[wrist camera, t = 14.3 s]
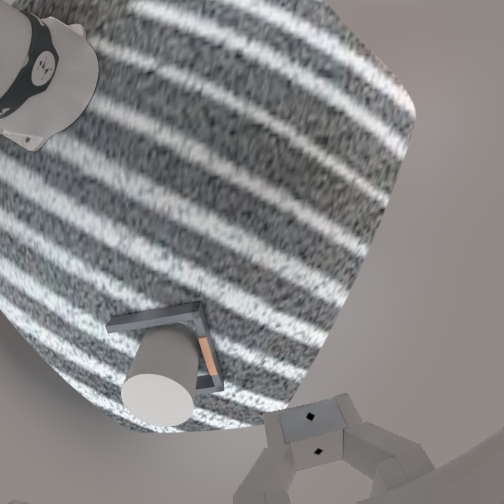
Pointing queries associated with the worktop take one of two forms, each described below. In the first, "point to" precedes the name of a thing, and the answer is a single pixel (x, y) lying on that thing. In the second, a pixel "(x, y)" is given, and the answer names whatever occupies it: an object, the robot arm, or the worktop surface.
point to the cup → (163, 376)
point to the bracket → (175, 315)
